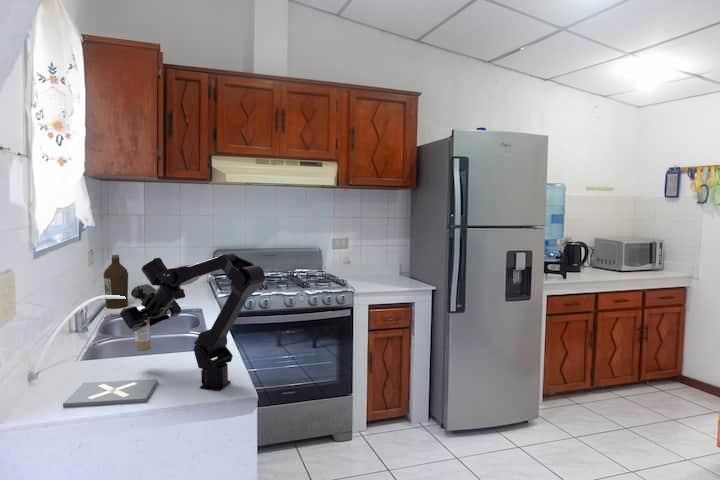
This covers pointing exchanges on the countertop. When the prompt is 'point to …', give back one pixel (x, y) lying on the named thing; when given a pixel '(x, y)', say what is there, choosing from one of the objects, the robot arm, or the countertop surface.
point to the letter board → (111, 392)
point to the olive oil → (116, 283)
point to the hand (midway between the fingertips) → (139, 328)
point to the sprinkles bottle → (143, 336)
